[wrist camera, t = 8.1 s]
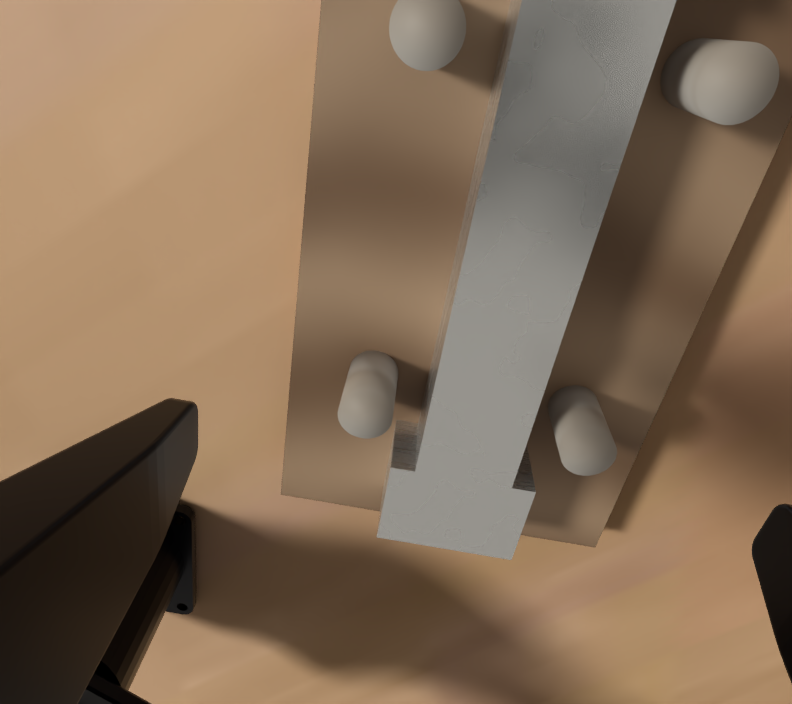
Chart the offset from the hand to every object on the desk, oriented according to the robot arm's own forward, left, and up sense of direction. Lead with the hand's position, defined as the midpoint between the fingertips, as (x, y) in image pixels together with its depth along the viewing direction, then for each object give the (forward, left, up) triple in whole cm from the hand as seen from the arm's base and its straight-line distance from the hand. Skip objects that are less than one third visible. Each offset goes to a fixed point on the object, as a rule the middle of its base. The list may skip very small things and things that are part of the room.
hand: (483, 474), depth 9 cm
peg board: (+1, -1, -11) cm, 11 cm away
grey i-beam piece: (+1, -1, -10) cm, 10 cm away
